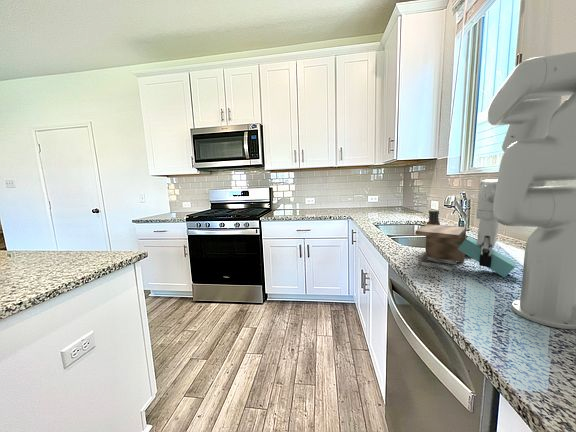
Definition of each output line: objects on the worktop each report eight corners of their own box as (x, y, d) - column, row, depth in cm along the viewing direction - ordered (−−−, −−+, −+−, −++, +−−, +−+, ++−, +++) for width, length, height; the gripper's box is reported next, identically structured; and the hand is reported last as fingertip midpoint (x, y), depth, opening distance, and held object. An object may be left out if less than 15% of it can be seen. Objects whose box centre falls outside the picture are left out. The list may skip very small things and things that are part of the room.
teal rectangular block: (457, 249, 95) (465, 238, 93) (460, 245, 99) (469, 235, 97) (504, 277, 86) (515, 267, 84) (506, 272, 90) (516, 262, 88)
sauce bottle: (442, 255, 114) (445, 211, 111) (427, 254, 115) (429, 211, 113) (437, 251, 120) (439, 209, 118) (422, 250, 122) (424, 209, 119)
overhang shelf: (464, 261, 104) (466, 227, 102) (456, 274, 90) (458, 234, 88) (426, 255, 113) (427, 224, 111) (414, 267, 99) (415, 230, 97)
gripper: (479, 211, 98) (475, 255, 101) (474, 217, 85) (470, 268, 88) (504, 212, 93) (499, 259, 96) (503, 219, 80) (497, 273, 83)
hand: (485, 263), depth 92 cm, fingers closed on teal rectangular block, 6 cm apart
